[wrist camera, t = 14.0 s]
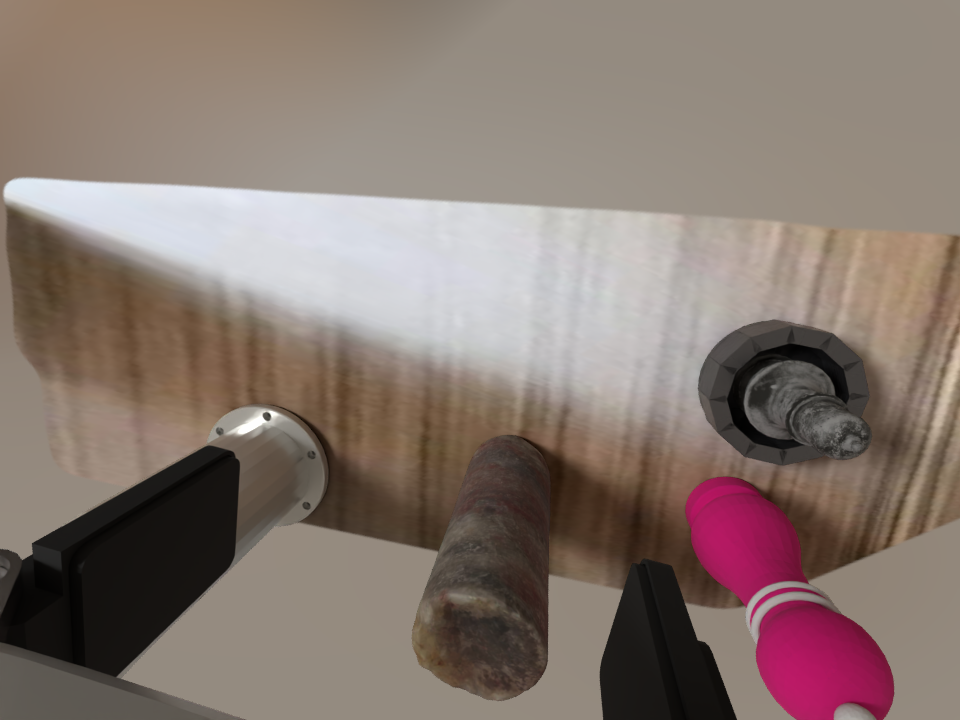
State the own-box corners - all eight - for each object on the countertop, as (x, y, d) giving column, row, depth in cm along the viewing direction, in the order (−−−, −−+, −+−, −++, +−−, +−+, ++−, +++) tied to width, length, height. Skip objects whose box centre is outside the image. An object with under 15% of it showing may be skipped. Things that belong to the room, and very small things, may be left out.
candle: (570, 477, 42) (578, 670, 23) (512, 525, 44) (474, 738, 25) (509, 417, 42) (466, 562, 23) (454, 468, 44) (370, 640, 25)
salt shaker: (819, 408, 37) (937, 481, 25) (740, 431, 38) (817, 511, 27) (797, 338, 36) (909, 381, 24) (718, 365, 37) (787, 418, 26)
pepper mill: (688, 463, 40) (804, 662, 21) (779, 478, 39) (988, 701, 20) (671, 538, 42) (763, 783, 23) (757, 554, 41) (930, 824, 22)
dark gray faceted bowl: (715, 457, 40) (729, 477, 36) (684, 343, 38) (695, 352, 35) (851, 426, 37) (879, 444, 34) (823, 302, 36) (851, 308, 32)
